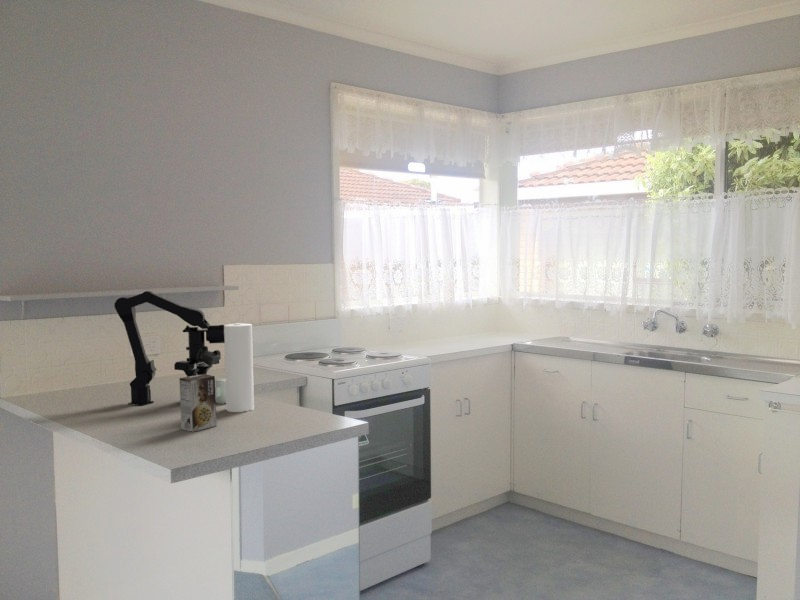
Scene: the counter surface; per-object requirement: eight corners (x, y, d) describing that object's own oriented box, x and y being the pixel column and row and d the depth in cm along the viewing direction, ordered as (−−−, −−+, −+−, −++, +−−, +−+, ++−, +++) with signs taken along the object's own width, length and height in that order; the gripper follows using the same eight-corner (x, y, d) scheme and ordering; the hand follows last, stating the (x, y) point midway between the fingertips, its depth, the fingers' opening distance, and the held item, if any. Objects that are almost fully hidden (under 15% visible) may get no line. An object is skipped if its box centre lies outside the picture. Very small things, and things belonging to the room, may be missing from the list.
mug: (224, 405, 260) (223, 383, 259) (208, 403, 263) (207, 382, 262) (239, 400, 268) (238, 379, 268) (223, 399, 271) (223, 378, 270)
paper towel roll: (247, 412, 247) (245, 324, 245) (221, 411, 249) (219, 324, 247) (258, 406, 257) (256, 322, 255) (233, 406, 258) (231, 322, 256)
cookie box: (205, 423, 232) (203, 373, 231) (217, 426, 228) (215, 375, 227) (180, 429, 225) (178, 377, 224) (192, 432, 221) (190, 379, 220)
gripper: (197, 348, 254) (199, 392, 255) (230, 341, 272) (231, 383, 273) (172, 346, 259) (173, 390, 260) (206, 340, 276) (207, 381, 277)
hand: (197, 386), depth 267 cm, fingers closed on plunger, 4 cm apart
